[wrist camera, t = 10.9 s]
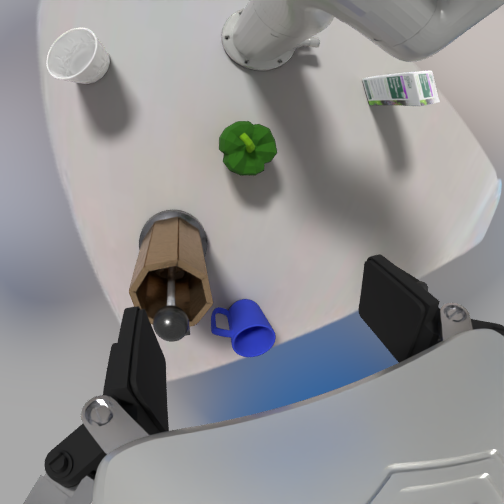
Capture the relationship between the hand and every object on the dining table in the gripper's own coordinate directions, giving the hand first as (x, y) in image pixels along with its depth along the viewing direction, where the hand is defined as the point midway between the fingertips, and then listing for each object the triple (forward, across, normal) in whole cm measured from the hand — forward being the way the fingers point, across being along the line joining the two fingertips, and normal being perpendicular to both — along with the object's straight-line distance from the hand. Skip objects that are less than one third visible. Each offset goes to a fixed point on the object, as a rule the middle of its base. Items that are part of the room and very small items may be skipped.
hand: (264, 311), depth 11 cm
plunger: (+32, +7, +12) cm, 35 cm away
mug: (+38, -2, +29) cm, 48 cm away
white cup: (+38, +16, -22) cm, 47 cm away
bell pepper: (+38, -7, -3) cm, 39 cm away
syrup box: (+38, -35, -13) cm, 54 cm away
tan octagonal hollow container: (+38, +7, +13) cm, 41 cm away
